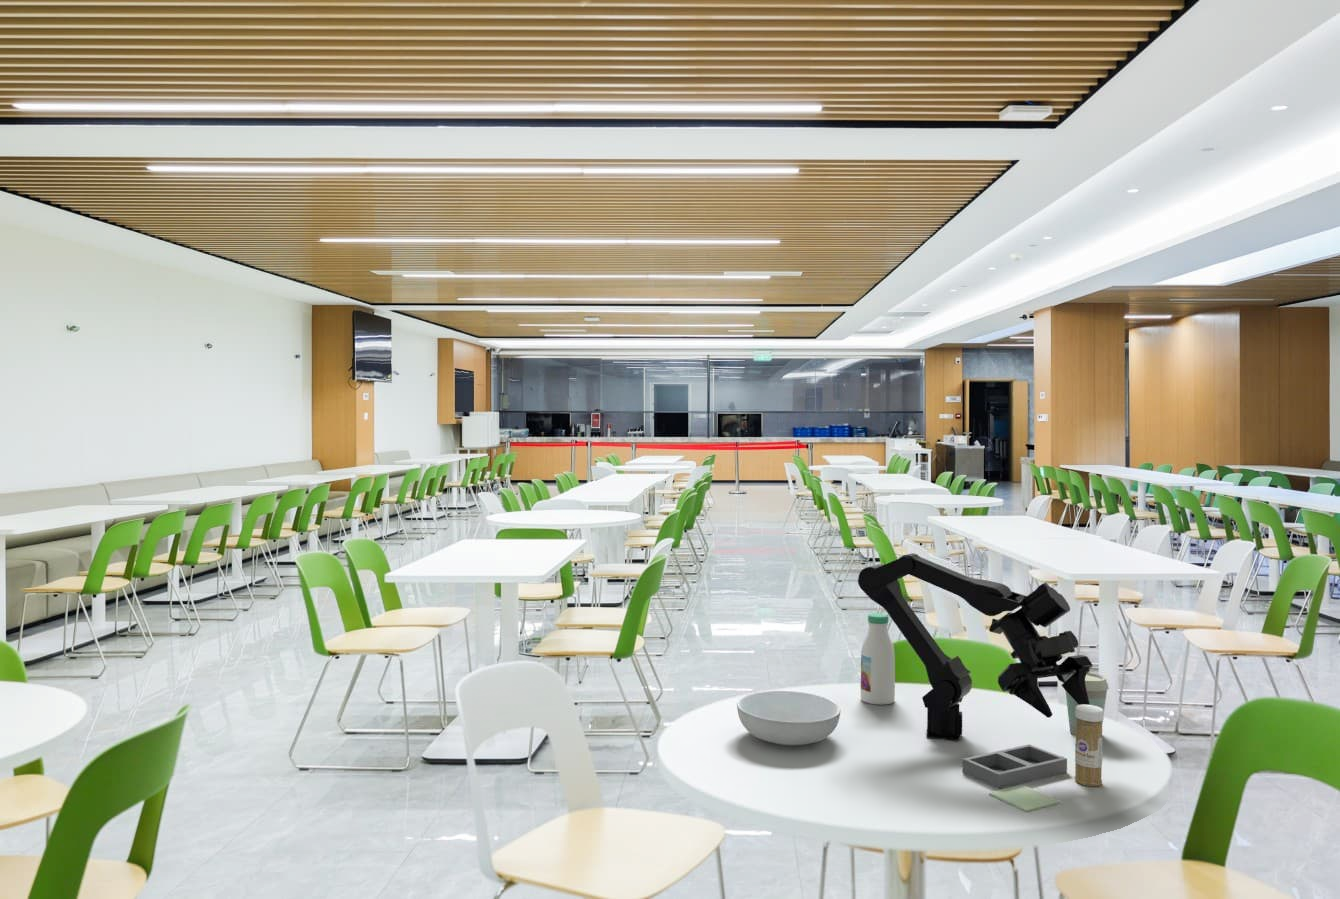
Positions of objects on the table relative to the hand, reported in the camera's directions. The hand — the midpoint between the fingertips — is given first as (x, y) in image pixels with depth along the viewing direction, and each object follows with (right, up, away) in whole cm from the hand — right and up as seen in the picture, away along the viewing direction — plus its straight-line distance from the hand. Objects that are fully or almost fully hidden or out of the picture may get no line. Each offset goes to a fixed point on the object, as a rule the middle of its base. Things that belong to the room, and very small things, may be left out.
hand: (1069, 713), depth 165 cm
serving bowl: (-49, -11, +19) cm, 54 cm away
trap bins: (-10, -11, +1) cm, 15 cm away
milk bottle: (-25, -10, +45) cm, 52 cm away
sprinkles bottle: (+2, -11, -4) cm, 12 cm away
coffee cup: (+13, -11, +22) cm, 28 cm away
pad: (-13, -11, -11) cm, 20 cm away
